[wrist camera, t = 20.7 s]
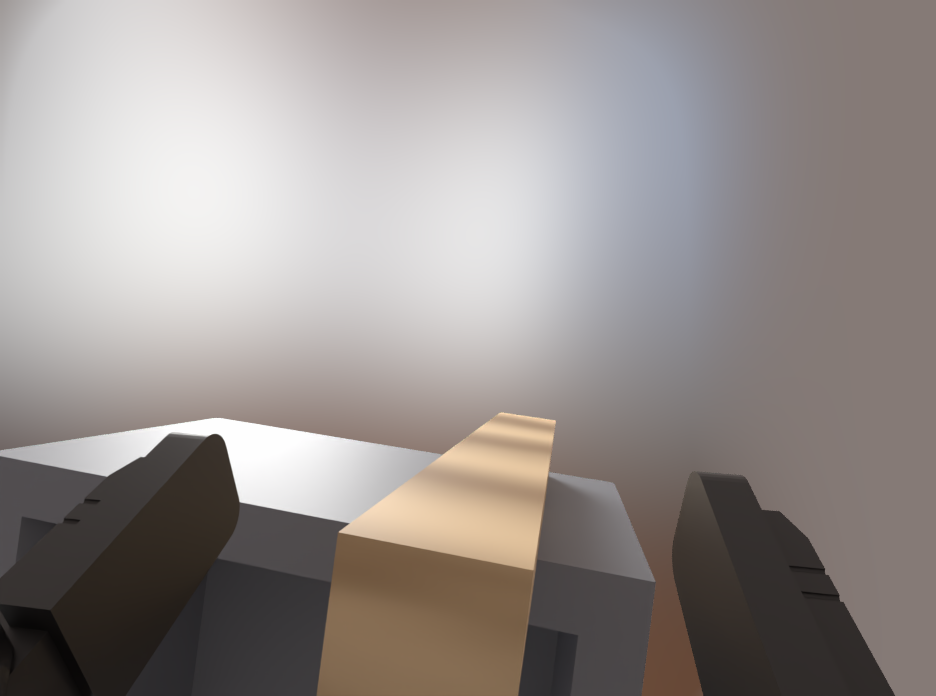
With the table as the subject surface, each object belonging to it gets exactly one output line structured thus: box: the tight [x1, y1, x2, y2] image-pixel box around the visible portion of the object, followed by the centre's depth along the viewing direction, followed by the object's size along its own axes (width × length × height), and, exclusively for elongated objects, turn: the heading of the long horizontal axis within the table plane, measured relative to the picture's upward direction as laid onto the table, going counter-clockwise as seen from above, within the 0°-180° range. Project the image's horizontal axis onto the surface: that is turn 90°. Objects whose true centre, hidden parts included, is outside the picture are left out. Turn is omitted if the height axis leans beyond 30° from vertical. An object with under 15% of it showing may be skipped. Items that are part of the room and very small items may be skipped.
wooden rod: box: [317, 412, 556, 696], centre depth 19 cm, size 22×3×3 cm, turn 170°
